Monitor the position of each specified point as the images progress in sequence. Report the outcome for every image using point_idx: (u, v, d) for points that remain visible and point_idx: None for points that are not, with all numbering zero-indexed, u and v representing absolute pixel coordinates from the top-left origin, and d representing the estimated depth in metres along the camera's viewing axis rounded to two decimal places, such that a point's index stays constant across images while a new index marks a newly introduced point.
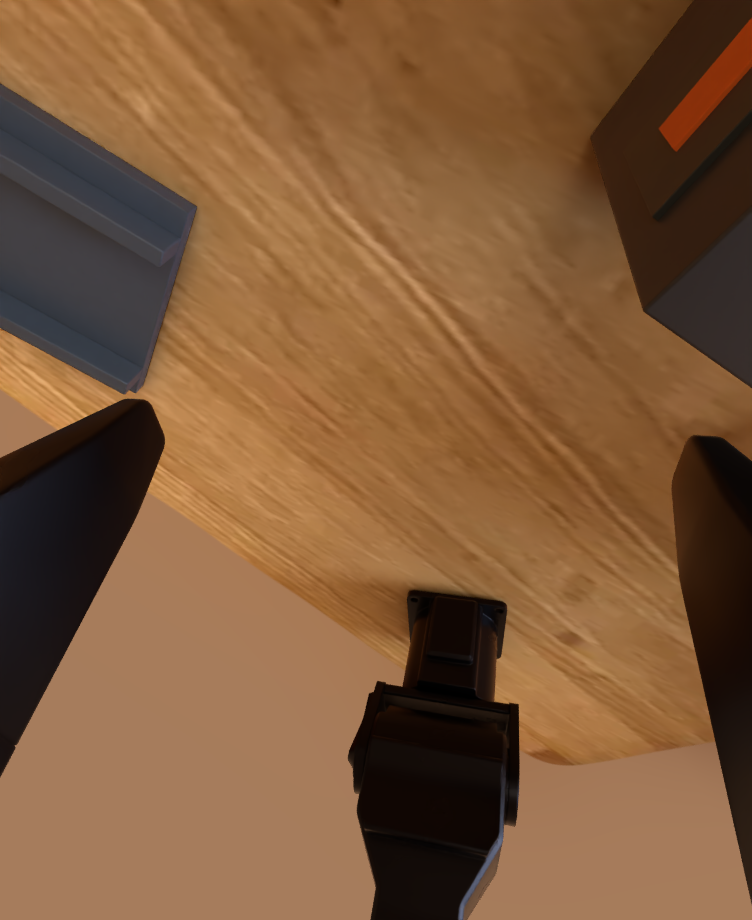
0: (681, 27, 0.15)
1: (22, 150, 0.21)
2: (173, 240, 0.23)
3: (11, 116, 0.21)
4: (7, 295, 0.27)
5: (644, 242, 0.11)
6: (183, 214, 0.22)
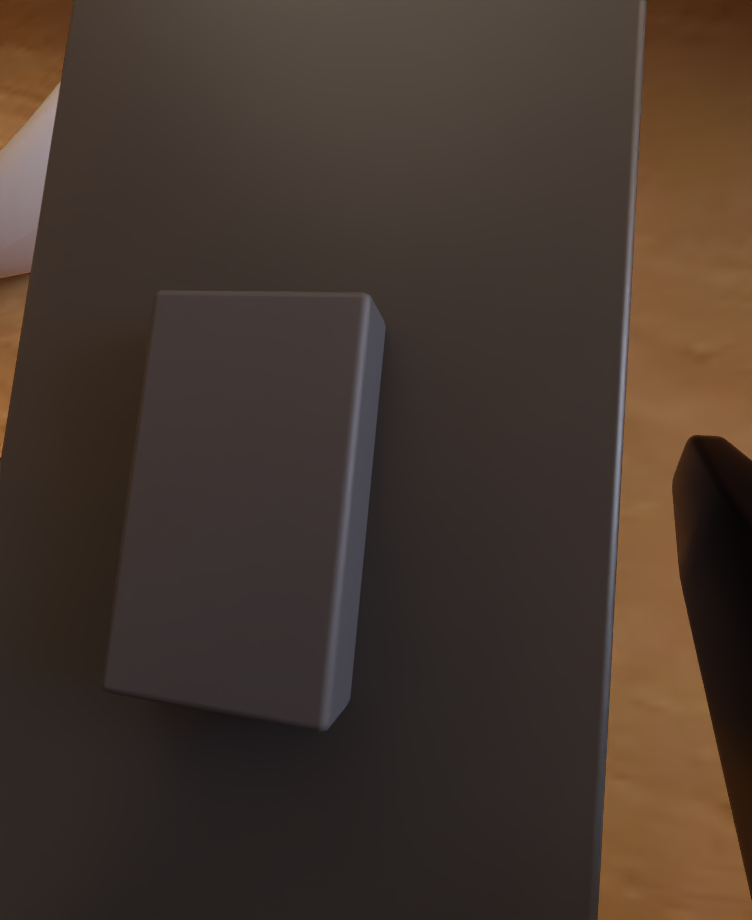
0: None
1: None
2: None
3: None
4: None
5: None
6: None
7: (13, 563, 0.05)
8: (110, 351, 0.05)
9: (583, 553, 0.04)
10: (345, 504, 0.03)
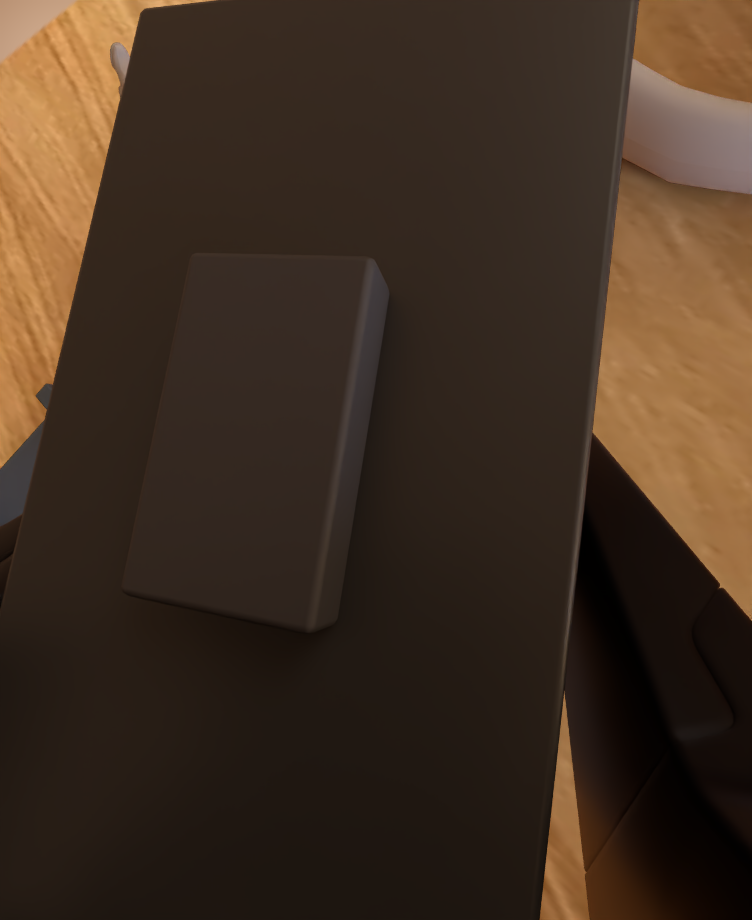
0: None
1: None
2: None
3: None
4: None
5: None
6: None
7: (52, 491, 0.05)
8: (150, 311, 0.05)
9: (553, 496, 0.04)
10: (339, 437, 0.04)
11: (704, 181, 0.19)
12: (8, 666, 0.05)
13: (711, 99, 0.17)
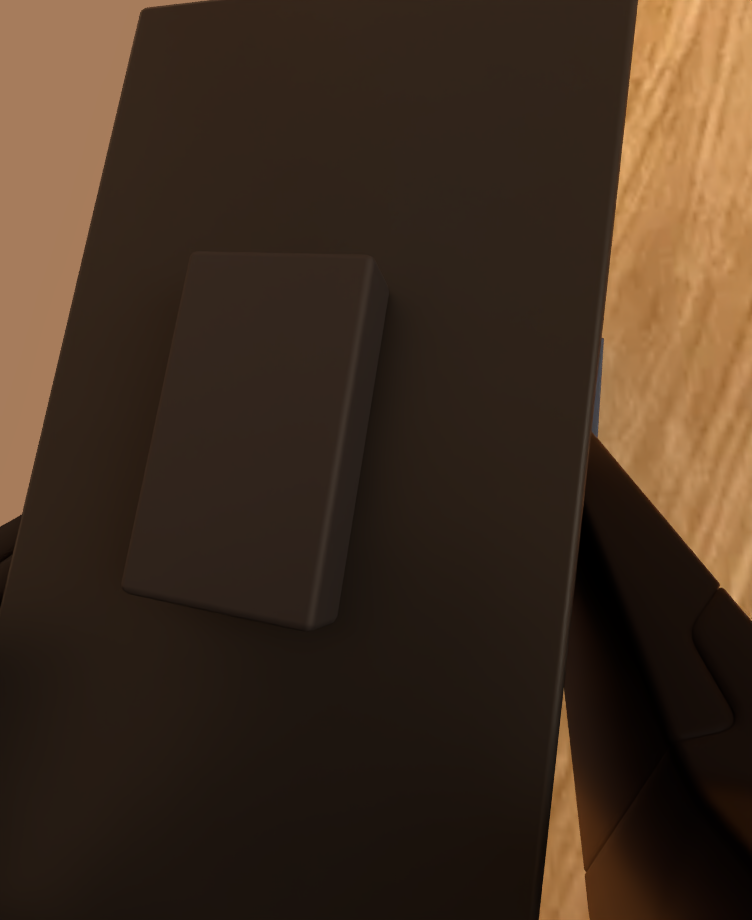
0: None
1: None
2: None
3: None
4: None
5: None
6: None
7: (52, 489, 0.05)
8: (150, 310, 0.05)
9: (551, 495, 0.04)
10: (339, 434, 0.04)
11: None
12: (8, 665, 0.05)
13: None
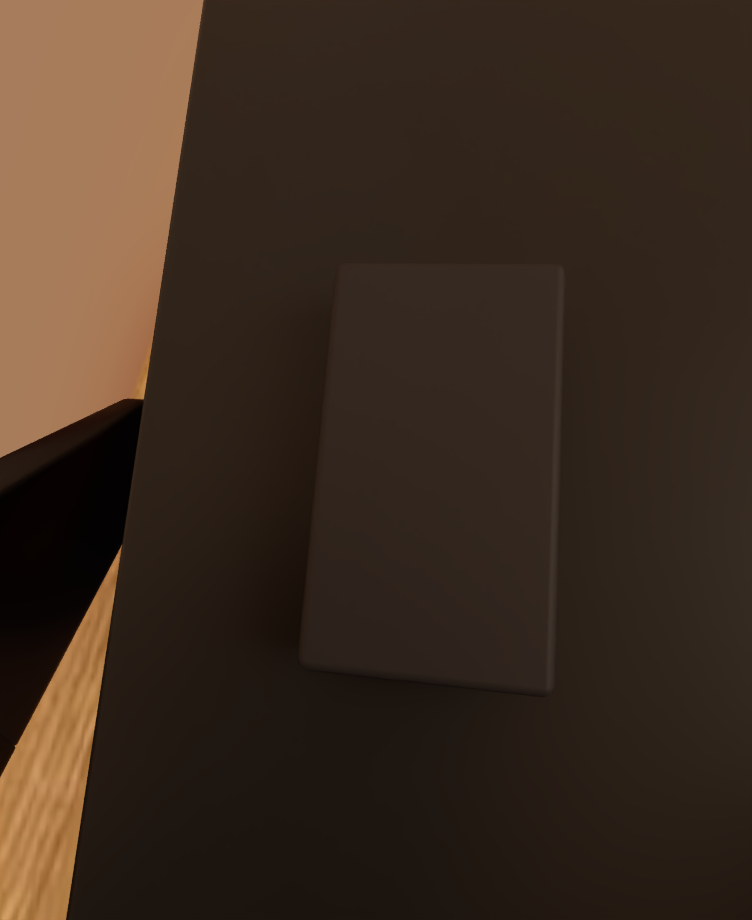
0: None
1: None
2: None
3: None
4: None
5: None
6: None
7: (157, 548, 0.04)
8: (258, 331, 0.05)
9: None
10: (555, 466, 0.04)
11: None
12: (120, 766, 0.04)
13: None
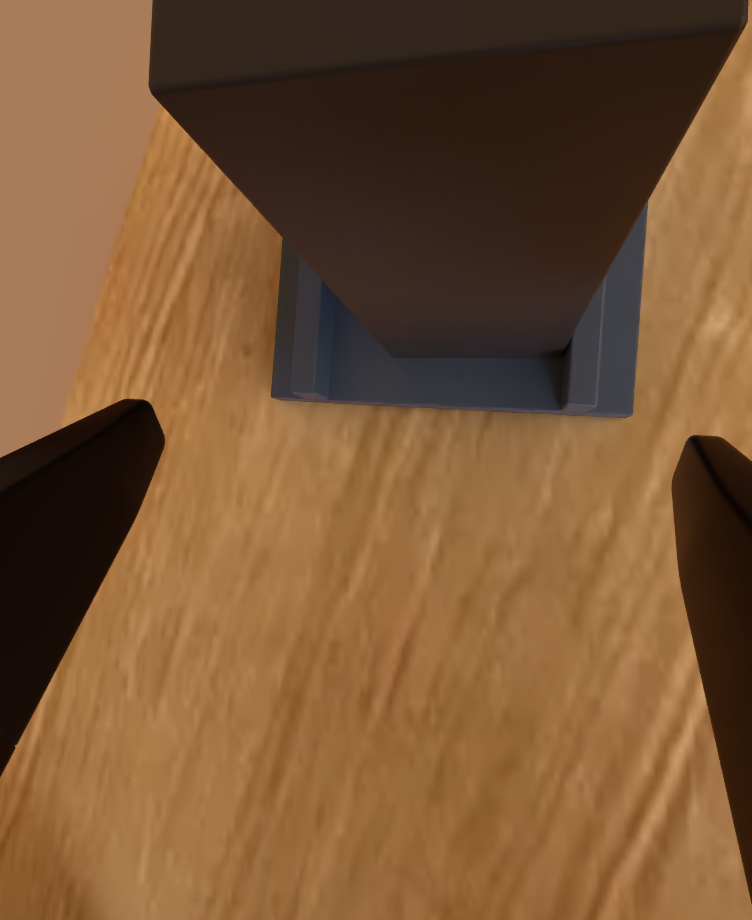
0: None
1: None
2: None
3: None
4: None
5: None
6: (625, 408, 0.16)
7: None
8: None
9: None
10: None
11: None
12: None
13: None
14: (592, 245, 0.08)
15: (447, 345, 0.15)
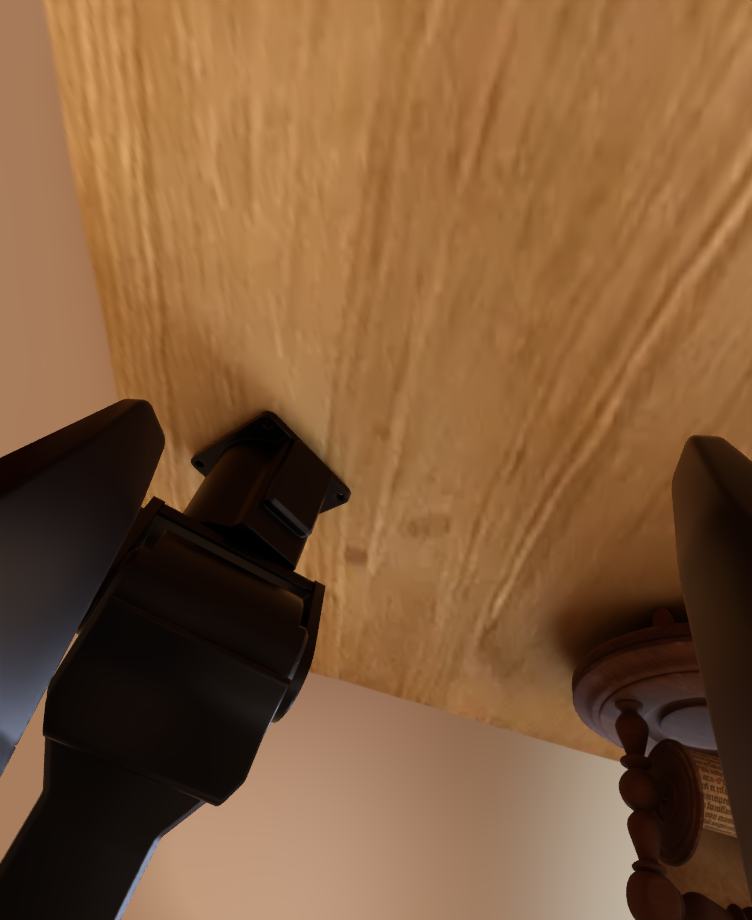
0: None
1: None
2: None
3: None
4: None
5: None
6: None
7: None
8: None
9: None
10: None
11: None
12: None
13: None
14: None
15: None
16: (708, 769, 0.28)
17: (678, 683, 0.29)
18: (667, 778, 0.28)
